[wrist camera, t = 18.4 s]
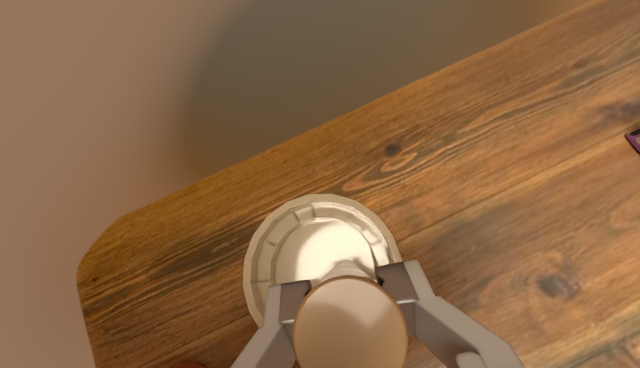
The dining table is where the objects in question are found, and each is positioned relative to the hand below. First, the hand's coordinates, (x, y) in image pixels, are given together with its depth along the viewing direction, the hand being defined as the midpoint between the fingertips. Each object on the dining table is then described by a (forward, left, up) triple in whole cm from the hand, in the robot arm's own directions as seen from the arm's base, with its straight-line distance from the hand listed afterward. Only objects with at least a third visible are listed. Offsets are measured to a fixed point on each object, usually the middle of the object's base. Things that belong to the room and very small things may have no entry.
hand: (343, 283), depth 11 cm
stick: (0, -1, -21) cm, 21 cm away
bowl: (-2, -1, -23) cm, 23 cm away
